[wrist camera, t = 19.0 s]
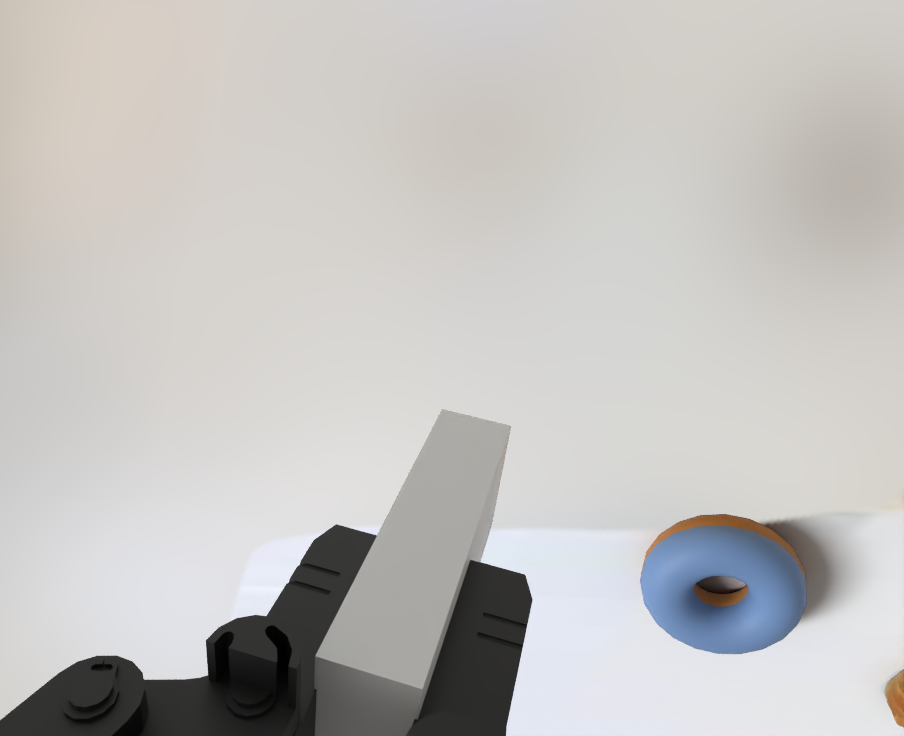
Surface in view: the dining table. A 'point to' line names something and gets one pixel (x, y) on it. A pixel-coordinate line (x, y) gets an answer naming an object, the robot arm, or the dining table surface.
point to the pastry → (896, 697)
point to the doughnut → (723, 554)
